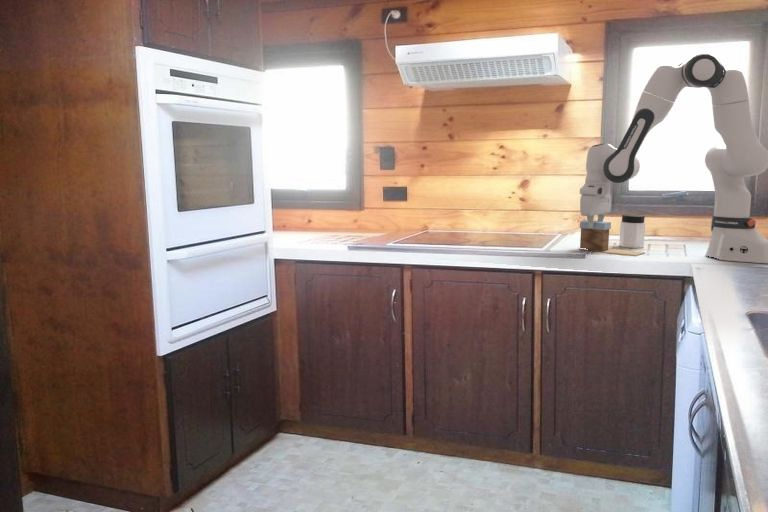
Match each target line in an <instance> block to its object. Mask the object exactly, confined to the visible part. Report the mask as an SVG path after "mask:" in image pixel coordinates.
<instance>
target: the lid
mask: <svg viewBox="0 0 768 512" xmlns="http://www.w3.org/2000/svg"><path fill="white" fill-rule="evenodd" d="M594 223H595V225H594V228H589V227H588V220H582V221H580V222H579V229H581V228H585V229H597V230H607V229H609V230H610V229H611V228H612V227H611V226H612V222H611V221H603V222H602V221H597V220H594Z"/></svg>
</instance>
